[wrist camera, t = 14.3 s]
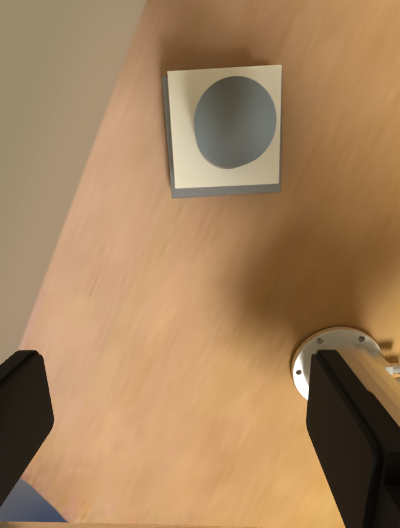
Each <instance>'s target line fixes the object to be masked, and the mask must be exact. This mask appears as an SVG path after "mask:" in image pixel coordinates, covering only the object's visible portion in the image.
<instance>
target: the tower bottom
mask: <svg viewBox="0 0 400 528" xmlns="http://www.w3.org/2000/svg"><path fill="white" fill-rule="evenodd" d="M162 84H163V96H164V108H165V120H166V132H167V144H168V156H169V168H170V180H171V192H172V199H173V198H190V197H206V196H223V195H239V194H256V193H272V192H281V129H282V78H281V118H280V158H279V184H260V185H239V186H218V187H197V188H177V189H175V178H174V163H173V148H172V133H171V118H170V104H169V89H168V76H162Z"/></svg>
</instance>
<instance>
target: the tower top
mask: <svg viewBox="0 0 400 528" xmlns="http://www.w3.org/2000/svg"><path fill="white" fill-rule="evenodd" d="M167 74H168V89H169V104H170V118H171V133H172V148H173V163H174V178H175V189H177V188H197V187H218V186H239V185H260V184H279V158H280V118H281V78H282V65H265V66H248V67H231V68H214V69H198V70H181V71H167ZM231 76H243V77H247V78H250V79H252V80H255V81H256V82H258V83H259V84H261V85H262V86H263V87H264V88H265V89H266V90H267V92H268V93H269V95H270V96H271V98H272V100H273V103H274V106H275V110H276V118H277V121H276V130H275V133H274V137H273V139H272V141H271V143H270V145H269V147H268V148H267V149H266V151H265V152H264V153H263V154H262V155H261V156H260V157H258V158H257V159H256V160H254V161H252V162H250V163H248V164H245V165H243V166H240V167H237V168H234V169H221V168H218V167H215V166H213V165H212V164H210V163H209V162H208V161H207V160H206V159H205V158H204V157H203V156H202V154H201V153H200V151H199V148H198V145H197V141H196V136H195V130H194V115H195V111H196V107H197V104H198V102H199V100H200V98H201V96H202V95H203V93H204V92H205V91H206V90H207V89H208V88H209V87H210V86H211V85H212V84H214V83H215V82H217V81H219V80H221V79H223V78H226V77H231Z"/></svg>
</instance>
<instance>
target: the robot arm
mask: <svg viewBox="0 0 400 528" xmlns="http://www.w3.org/2000/svg"><path fill="white" fill-rule="evenodd" d="M393 373H398V374H400V363H392V364H390V363H389V362H387V361H386V360H385V359H384V356H383V353H382V351H381V349H380V347H379V345H378V344H377V343H376V342H375V341H374V340H373V339H372V338H371V337H370V336H369V335H367V334H366V333H364V332H362V331H360V330H358V329H354V328H351V327H332V328H327V329H324V330H321V331H319V332H317V333H315V334H313V335H312V336H310V337H309V338H307V339H306V340H305V341H304V342H303V343H302V344H301V345H300V347H299V348H298V349H297V351H296V353H295V355H294V357H293V360H292V365H291V374H292V379H293V381H294V384H295V386H296V388H297V390H298V391H299V393H300V394H301V395H302V396H303V397H304V398H305V399H307V400H308V403H307V416H306V425H307V430H308V433H309V436H310V438H311V441H312V443H313V446H314V449H315V451H316V454H317V456H318V459H319V461H320V464H321V466H322V469H323V471H324V474H325V476H326V479H327V481H328V484H329V487H330V489H331V492H332V494H333V497H334V499H335V502H336V504H337V507H338V509H339V512H340V514H341V517H342V519H343V522H344V524H345V527H346V528H400V377H397V378H394V377H393V376H392V374H393ZM53 424H54V415H53V410H52V404H51V398H50V393H49V387H48V382H47V376H46V371H45V365H44V359H43V356H42V355H39V353H38V352H37V351H36V350H19V351H17V352H15V353H14V354H13V355H12V356H10V357H9V358H8V359H7V360H6V361H5V362H3V363H2V364H1V365H0V507H1V505H2V504H3V502H4V501H5V499H6V498H7V496H8V495H9V493H10V491H11V490H12V489H13V487H14V486H15V484H16V483H17V481H18V480H19V478H20V477H21V475H22V474H23V472H24V471H25V469H26V468H27V466H28V465H29V463H30V461H31V460H32V458H33V457H34V455H35V454H36V452H37V451H38V449H39V448H40V446H41V445H42V443H43V442H44V440H45V439H46V437H47V436H48V434H49V433H50V431H51V429H52V427H53ZM0 528H255V527H221V526H187V525H147V524H104V523H57V522H55V523H54V522H0Z"/></svg>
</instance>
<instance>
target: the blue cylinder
mask: <svg viewBox="0 0 400 528" xmlns="http://www.w3.org/2000/svg"><path fill="white" fill-rule="evenodd" d="M276 121H277V118H276V110H275V106H274V103H273V100H272V98H271V96H270V95H269V93H268V92H267V90H266V89H265V88H264V87H263V86H262V85H261V84H259V83H258V82H256V81H255V80H252V79H250V78H247V77H243V76H231V77H226V78H223V79H221V80H219V81H217V82H215V83H214V84H212V85H211V86H210V87H209V88H208V89H207V90H206V91H205V92H204V93H203V95H202V96H201V98H200V100H199V102H198V104H197V107H196V111H195V115H194V130H195V136H196V141H197V145H198V148H199V151H200V153H201V154H202V156H203V157H204V158H205V159H206V160H207V161H208V162H209V163H210V164H212V165H213V166H215V167H218V168H221V169H234V168H237V167H240V166H243V165H245V164H248V163H250V162H252V161H254V160H256V159H257V158H258V157H260V156H261V155H262V154H263V153H264V152H265V151H266V149H267V148H268V147H269V145H270V143H271V141H272V139H273V137H274V133H275V130H276Z"/></svg>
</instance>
